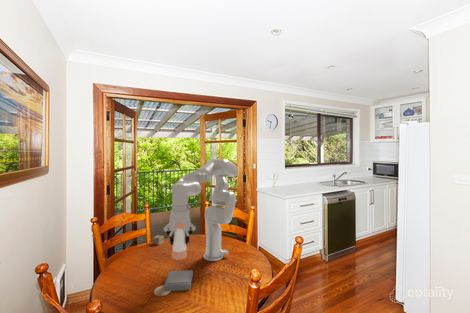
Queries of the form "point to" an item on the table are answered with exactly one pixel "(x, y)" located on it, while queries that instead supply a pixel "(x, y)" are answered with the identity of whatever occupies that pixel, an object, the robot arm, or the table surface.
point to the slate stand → (178, 280)
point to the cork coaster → (161, 291)
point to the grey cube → (158, 240)
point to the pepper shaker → (179, 243)
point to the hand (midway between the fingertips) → (179, 243)
